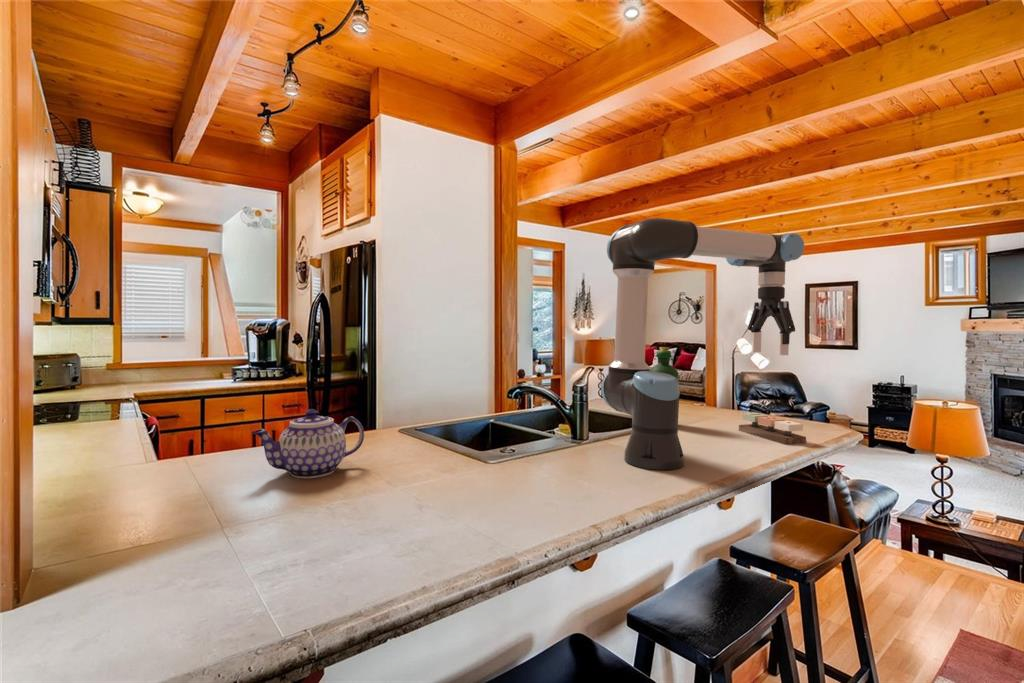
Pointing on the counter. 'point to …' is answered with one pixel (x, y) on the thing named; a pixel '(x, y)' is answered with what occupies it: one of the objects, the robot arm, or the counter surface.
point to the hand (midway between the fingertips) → (769, 353)
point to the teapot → (309, 445)
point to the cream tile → (788, 427)
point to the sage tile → (753, 418)
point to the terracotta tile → (769, 422)
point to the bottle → (664, 363)
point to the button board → (772, 434)
